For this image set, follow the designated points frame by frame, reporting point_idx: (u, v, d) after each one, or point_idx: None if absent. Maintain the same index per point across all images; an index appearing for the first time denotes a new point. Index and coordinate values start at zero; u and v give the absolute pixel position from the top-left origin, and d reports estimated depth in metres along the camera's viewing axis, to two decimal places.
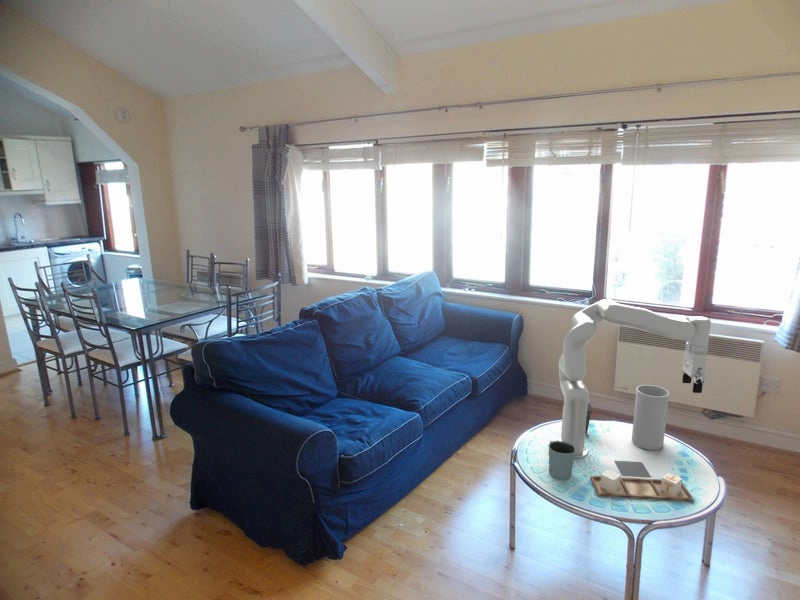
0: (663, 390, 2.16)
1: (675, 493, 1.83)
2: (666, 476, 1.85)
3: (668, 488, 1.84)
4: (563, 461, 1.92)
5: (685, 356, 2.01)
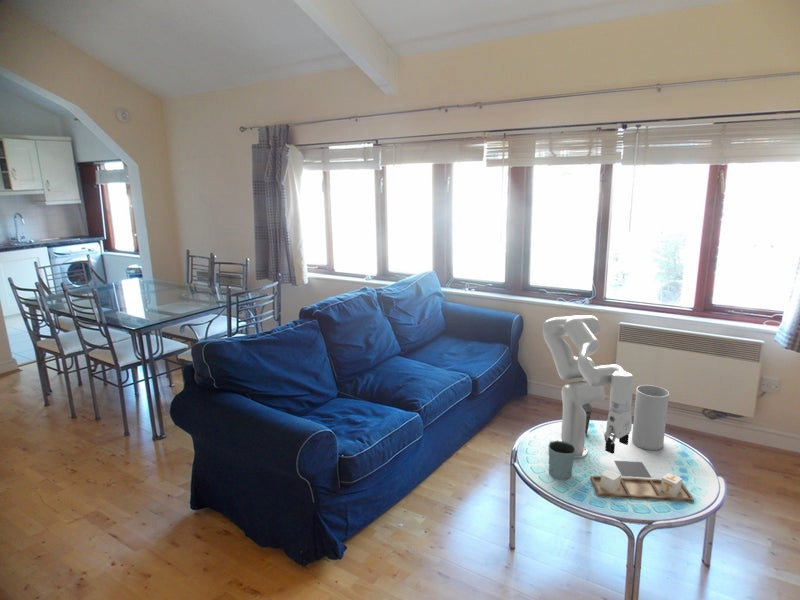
0: (663, 390, 2.16)
1: (675, 493, 1.83)
2: (666, 476, 1.85)
3: (668, 488, 1.84)
4: (563, 461, 1.92)
5: (623, 420, 1.79)
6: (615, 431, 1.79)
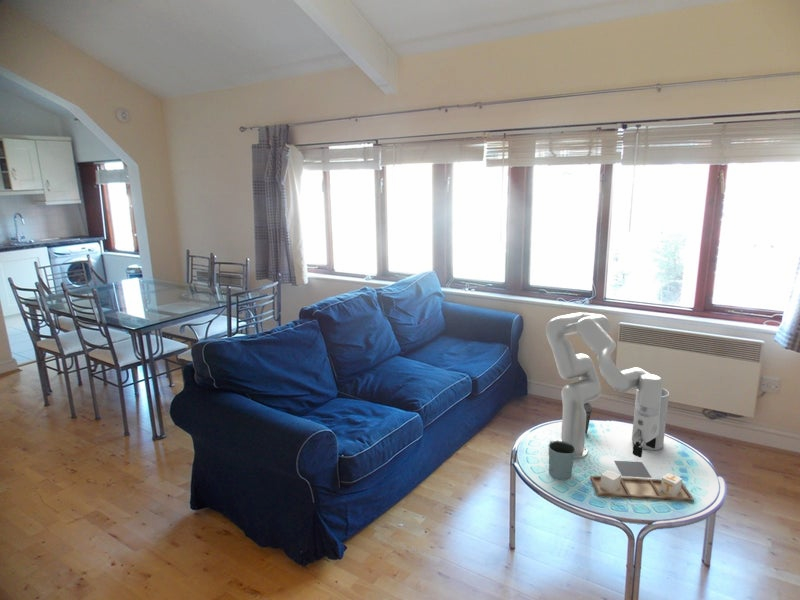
0: (663, 390, 2.16)
1: (675, 493, 1.83)
2: (666, 476, 1.85)
3: (668, 488, 1.84)
4: (563, 461, 1.92)
5: (651, 424, 1.77)
6: (643, 435, 1.77)
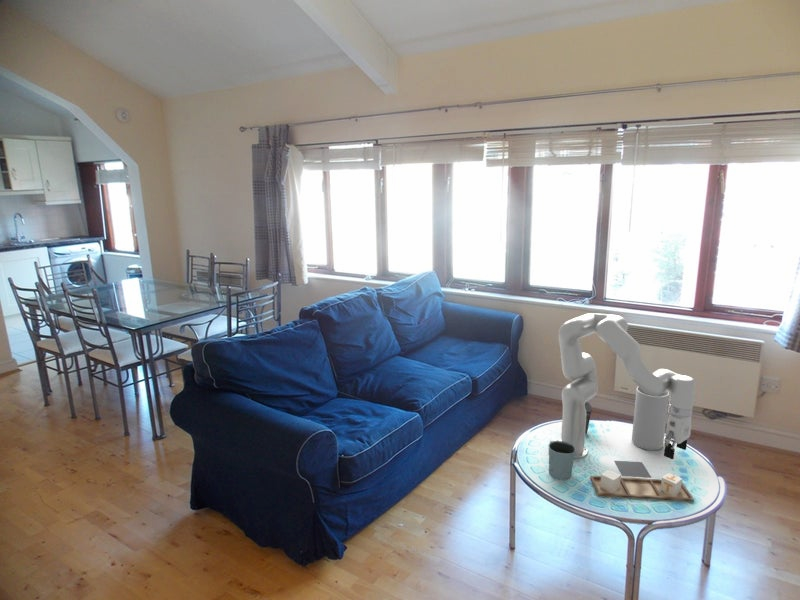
0: None
1: (675, 493, 1.83)
2: (666, 476, 1.85)
3: (668, 488, 1.84)
4: (563, 461, 1.92)
5: (684, 425, 1.76)
6: (675, 436, 1.76)
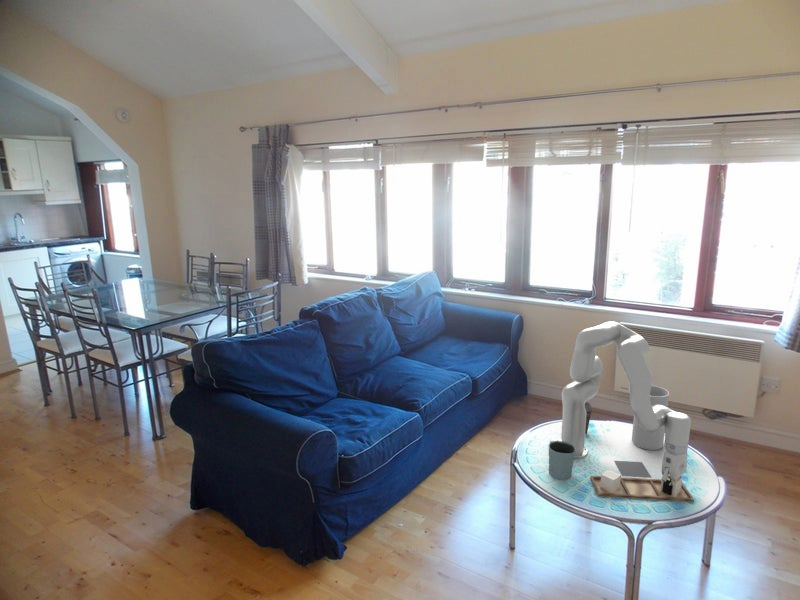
0: (663, 390, 2.16)
1: (675, 493, 1.83)
2: None
3: None
4: (563, 461, 1.92)
5: (679, 462, 1.79)
6: (671, 472, 1.79)
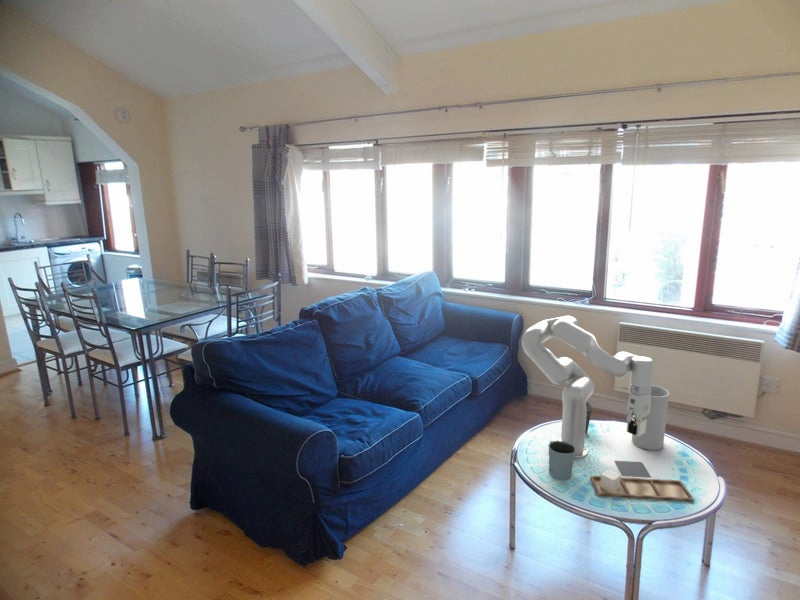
0: (663, 390, 2.16)
1: (640, 433, 1.94)
2: (632, 418, 1.96)
3: None
4: (563, 461, 1.92)
5: (643, 403, 1.90)
6: (635, 413, 1.90)
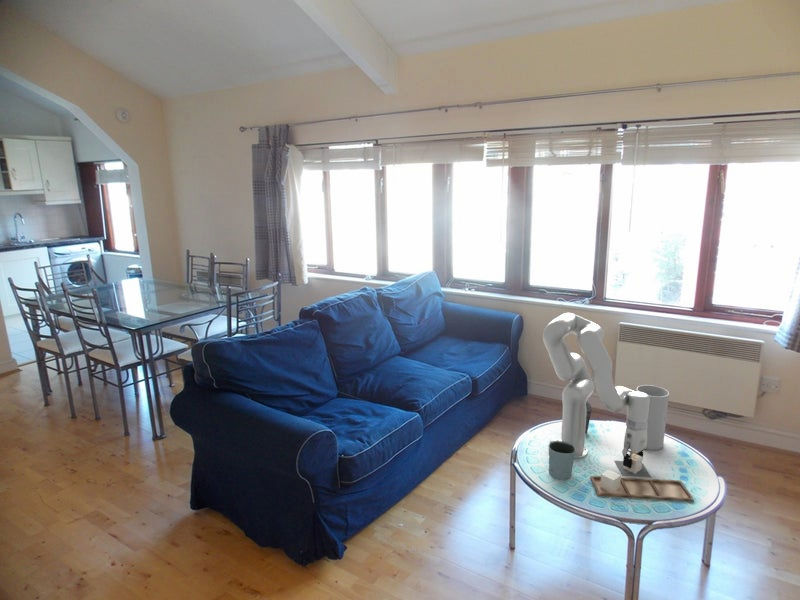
0: (663, 390, 2.16)
1: (636, 470, 1.97)
2: None
3: None
4: (563, 461, 1.92)
5: (639, 437, 1.93)
6: (632, 447, 1.93)
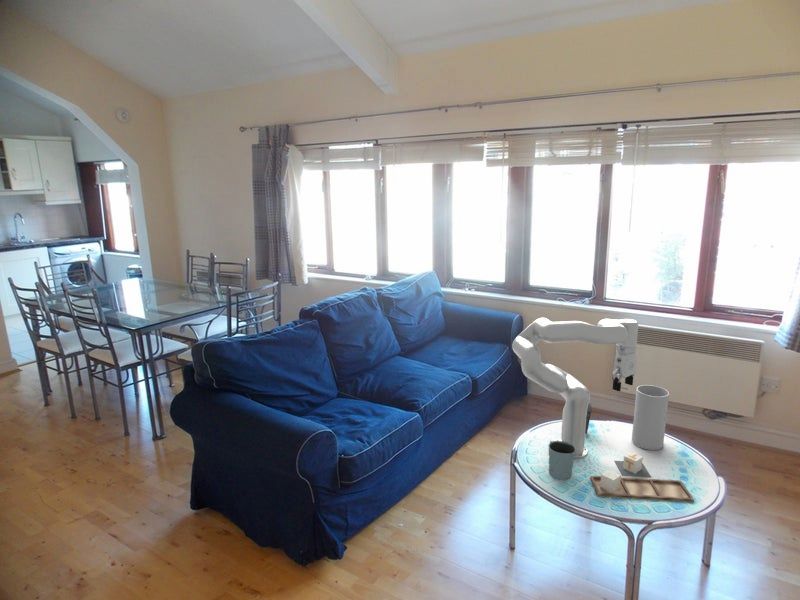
0: (663, 390, 2.16)
1: (636, 470, 1.97)
2: (628, 455, 2.00)
3: (630, 465, 1.98)
4: (563, 461, 1.92)
5: (628, 362, 2.04)
6: (621, 371, 2.04)
